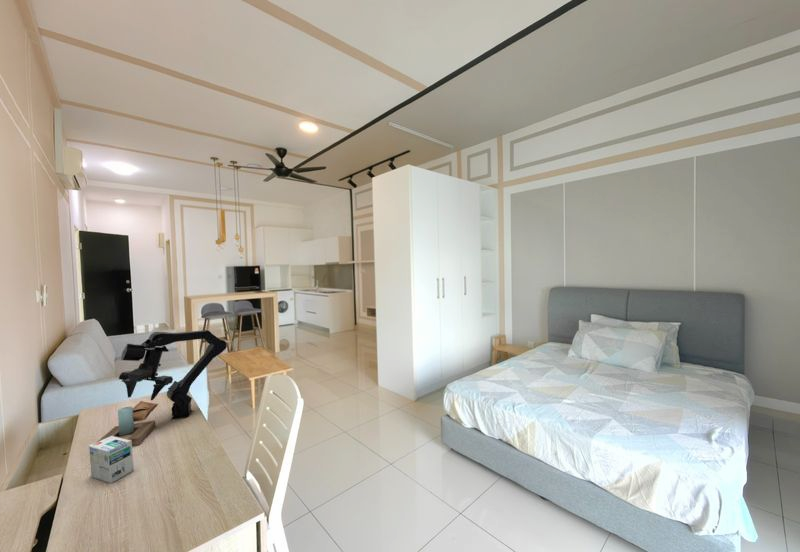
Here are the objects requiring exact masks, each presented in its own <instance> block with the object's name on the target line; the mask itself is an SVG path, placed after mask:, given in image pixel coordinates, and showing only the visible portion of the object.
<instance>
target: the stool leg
mask: <svg viewBox="0 0 800 552" xmlns="http://www.w3.org/2000/svg"><path fill="white" fill-rule="evenodd" d="M133 408H134V407H133V406H125V407H122V408H120V409H118V410H117V419H118V420H117V421H118V426H119V437H120V436H126V435H132V434H133V433H134V424H135V423H134V422H133Z"/></svg>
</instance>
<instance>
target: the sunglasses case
mask: <svg viewBox="0 0 800 552" xmlns="http://www.w3.org/2000/svg"><path fill="white" fill-rule="evenodd" d="M158 404H159V403H152V402H148V401H143V400H140V401H139V402H138V403H137V404H136V405H135V406H134V407H133V423H135V422H136V423H137V422H141V421H145V420H147V417H148V416H149V415H150V414H151V413H152V412H153V410H155V408H157V405H158ZM158 406H159V405H158ZM151 411H152V412H151ZM150 412H151V413H150Z"/></svg>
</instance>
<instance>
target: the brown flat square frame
mask: <svg viewBox="0 0 800 552" xmlns="http://www.w3.org/2000/svg"><path fill="white" fill-rule="evenodd" d="M133 424H134V433H133V434H132V435H126V436H120V437H119V425H116V426H114V427H112V428H111V429H110V430H109V431H108V432H107V433H106V434H103V436H102V437H101V438H100V439H98V440H97V441H96V442H99V441H101V440H103V439H106V438H108V437H110V436H115V437H119V438H123V439H128V440H132V448H133V447H138V446H140V445H141V444H142V443H143V442H144V441H145V440H146V439H147V438H148V436H149V435H151V433H152V432H153V431H154V430H155V429H156V420H151V421H143V422H138V423H137V422H136V423H135V422H134V423H133Z"/></svg>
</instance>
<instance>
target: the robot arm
mask: <svg viewBox="0 0 800 552" xmlns="http://www.w3.org/2000/svg"><path fill="white" fill-rule="evenodd" d="M197 340H204V341H205V342H206V343H207V344H208V345H207V347H206V350H205V352H204V354H203V355H202V356H201V357H200V358H199V359H198V360H197V362H195V364H194V365H193V366H192V367H191V369H190V370H189V371H188V372H187V373H186V375H184V376H183V378H181V380H179V381H177V380H174V378H173V376H169V375H159V373H158V369H159V367H161V365H162V363H160V362H161V358H162V355H163V352H165V353H168V352H169V349H168V348H167V345H171V344H173V343H177V342H185V341H197ZM227 344H228V343H227V341H225V340H224V339H220V338H218V336H216V335H215V334H213V333H212V332H211V331H210V330H208V329H203V330H193V331H183V332H181V331H180V332H168V331H154V332H152V333H151V334H150V335H149V336H148V338H147V339H146V340H145V341H143V342H142V343H141V344H133V343H126V346H125V347H124V348H123V350H122V352H121V357H120V360H121V361H128V362H129V361H133V362H134V361H135V362H140V361H141V360H143V361H142V363H139V365H138V368H135V369H133V370H129V371H122V372H121V373H120V374H119V376H118V380H121V381H120V382H123V384H125V387H126V394H127V398H131V397H132V395H133V393H134V390H135V389H136V386H137V383H139V382H143V381H150V382H154V383H155V384H153V385H152V386H153V391H152V393H151V396H150V401H154V399H156V397H157V396H158V394H159V393H160V392H161V391H162V390H163V388H165V387H166V386H168V385H169V384H171V385H170V386H169V387H168V388H167V389H168V390H166V391H167V392H166V397H167V398H168V399H169V400H170V401H171V402H172V407H171V416H172V417H171V420H176V419H181V418H188V417H190V415H191V414H192V412H193V411H194V410H193V409H192V399H193V397H192V396H190V395H189V394H188V393H189V391H190V389H191V386H192V384H193V383H194V382H195V380H197V378H198V377H199V375H201V374H202V372H203V371H204V370H205V369H206V368H207V366H208V365H209V364H210V363H211V362H212V361H213V359H214V358H217V356H220V354H222V353H223V352H224V351H225V350H226V349H227V347H228V345H227ZM158 375H159V376H158ZM173 380H174V381H173ZM190 413H191V414H190Z"/></svg>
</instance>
